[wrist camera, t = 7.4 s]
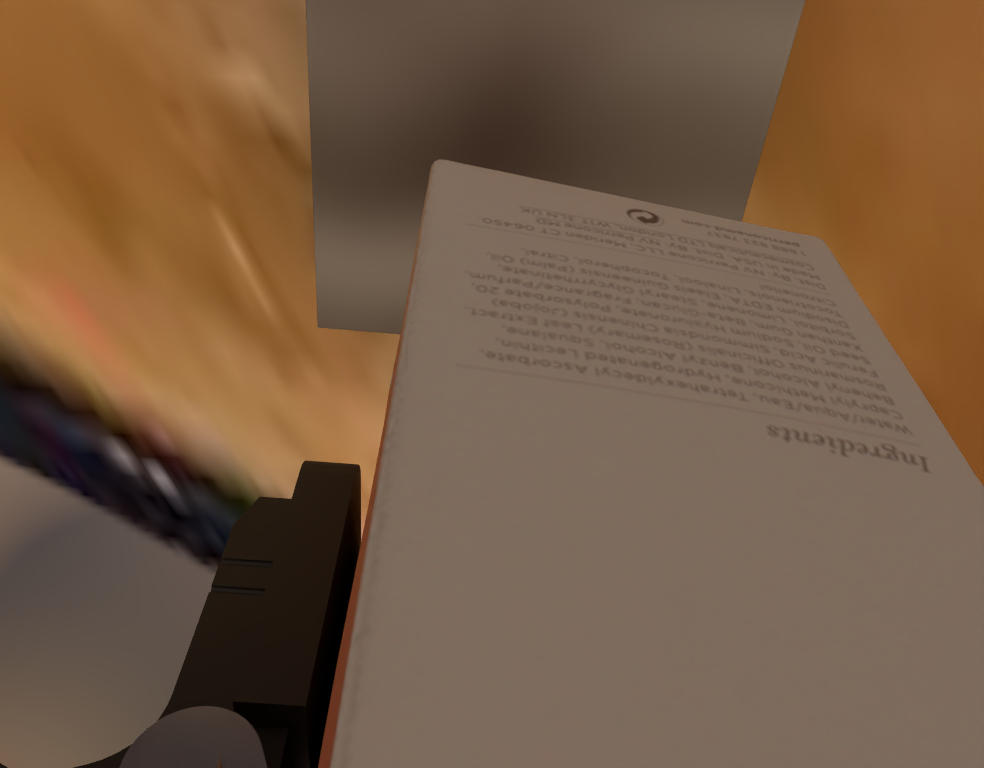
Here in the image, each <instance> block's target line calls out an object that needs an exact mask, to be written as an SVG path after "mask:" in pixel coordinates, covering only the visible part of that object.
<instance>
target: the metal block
mask: <svg viewBox="0 0 984 768" xmlns="http://www.w3.org/2000/svg"><path fill="white" fill-rule="evenodd" d="M804 3H805V0H306V20H307V47H308V74H309V101H310V128H311V155H312V182H313V209H314V236H315V263H316V290H317V317H318V327H319V328H331V329H343V330H355V331H368V332H380V333H392V334H401V329H402V324H403V319H404V313H405V308H406V302H407V296H408V290H409V285H410V279H411V273H412V268H413V262H414V256H415V250H416V245H417V239H418V234H419V229H420V224H421V219H422V214H423V208H424V202H425V197H426V192H427V188H428V182H429V175H430V170H431V166H432V164H433V163H434V161H437V160H439V159H441V160H449V161H453V162H458V163H462V164H467V165H472V166H477V167H482V168H487V169H492V170H497V171H502V172H506V173H511V174H516V175H520V176H525V177H530V178H535V179H539V180H544V181H549V182H554V183H558V184H563V185H568V186H573V187H578V188H583V189H588V190H592V191H597V192H602V193H607V194H612V195H616V196H621V197H626V198H631V199H635V200H640V201H645V202H650V203H654V204H659V205H664V206H669V207H674V208H679V209H683V210H688V211H693V212H698V213H702V214H707V215H712V216H716V217H721V218H726V219H730V220H735V221H740V222H741V221H742V218H743V214H744V211H745V207H746V204H747V200H748V197H749V193H750V190H751V186H752V183H753V179H754V176H755V173H756V169H757V166H758V162H759V159H760V155H761V152H762V148H763V145H764V141H765V138H766V134H767V131H768V128H769V124H770V121H771V117H772V114H773V110H774V107H775V103H776V100H777V96H778V93H779V89H780V86H781V83H782V79H783V76H784V72H785V69H786V65H787V62H788V58H789V55H790V51H791V48H792V44H793V41H794V38H795V34H796V31H797V27H798V24H799V20H800V17H801V13H802V10H803V6H804Z"/></svg>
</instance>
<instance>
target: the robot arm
mask: <svg viewBox="0 0 984 768" xmlns="http://www.w3.org/2000/svg"><path fill="white" fill-rule="evenodd" d="M360 546H361V472H360V466H359V465H356V464H343V463H330V462H317V461H304V462H303V464H302V466H301V469H300V473H299V476H298V479H297V483H296V486H295V490H294V493H293V496H292V499H284V498H270V497H259V498H258V499H257V500H256V501H255V502H254V503H253V505H252V506H251V507H250V508H249V509H248V510H247V511H246V512H245V513H244V514H243V515H242V516H241V517H240V518H239V519H238V520H237V521H236V522H235V523H234V524H233V527H232V530H231V533H230V536H229V538H228V541H227V544H226V547H225V549H224V552H223V555H222V560H221V564H219V566H218V569H217V572H216V574H215V577H214V580H213V583H212V589H211V592H210V593H209V594H208V597H207V600H206V603H205V605H204V608H203V611H202V614H201V616H200V619H199V622H198V624H197V627H196V630H195V633H194V636H193V638H192V641H191V644H190V647H189V649H188V652H187V655H186V658H185V661H184V663H183V666H182V669H181V672H180V674H179V677H178V680H177V683H176V686H175V688H174V691H173V694H172V696H171V699H170V701H169V703H168V705H167V707H166V709H165V710H164V712H163V713H162V715H161V717H160V718H159V719H158V720H157V722H155V723H154V724H152V725H151V726H150V727H148V728H147V729H146V730H145V731H144V732H143V733H142V734H141V735H140V736H138V738H137V739H136V740H135V741H134V742H133V743H132V744H131V745H130V746H128V747H127V748H125V749H123V750H121V751H120V752H118V753H116V754H114V755H112V756H109V757H107V758H105V759H103V760H100V761H96V762H93V763H90V764H87V765H83V766H79V767H74V768H318V765H319V760H320V754H321V749H322V743H323V738H324V732H325V727H326V721H327V716H328V710H329V705H330V699H331V694H332V689H333V683H334V678H335V672H336V667H337V661H338V656H339V651H340V646H341V641H342V636H343V631H344V626H345V621H346V616H347V611H348V606H349V601H350V596H351V591H352V586H353V581H354V576H355V571H356V566H357V561H358V556H359V551H360ZM0 768H7V767H6V766H4V765H2V764H1V763H0Z"/></svg>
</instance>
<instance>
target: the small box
mask: <svg viewBox="0 0 984 768" xmlns="http://www.w3.org/2000/svg"><path fill="white" fill-rule="evenodd" d="M318 768H984V486H983V485H982V483H981V482H980V481H979V479H978V478H977V477H976V475H975V474H974V472H973V471H972V469H971V468H970V466H969V465H968V463H967V462H966V460H965V458H964V457H963V455H962V454H961V452H960V450H959V449H958V447H957V446H956V444H955V443H954V441H953V439H952V438H951V436H950V435H949V433H948V432H947V430H946V429H945V427H944V425H943V424H942V422H941V421H940V419H939V418H938V416H937V414H936V413H935V411H934V410H933V408H932V407H931V405H930V404H929V402H928V400H927V399H926V397H925V396H924V394H923V393H922V391H921V390H920V388H919V387H918V385H917V384H916V382H915V381H914V379H913V378H912V376H911V375H910V373H909V372H908V370H907V368H906V367H905V365H904V364H903V362H902V361H901V359H900V358H899V356H898V355H897V353H896V352H895V350H894V349H893V347H892V346H891V344H890V343H889V341H888V340H887V338H886V337H885V335H884V333H883V332H882V330H881V329H880V327H879V325H878V324H877V322H876V321H875V319H874V318H873V316H872V314H871V313H870V311H869V310H868V308H867V307H866V305H865V304H864V302H863V301H862V299H861V298H860V296H859V295H858V293H857V292H856V290H855V289H854V287H853V285H852V284H851V282H850V280H849V279H848V277H847V276H846V274H845V273H844V271H843V270H842V268H841V267H840V265H839V263H838V262H837V260H836V258H835V257H834V255H833V254H832V252H831V251H830V249H829V248H828V247H827V245H826V244H825V242H824V241H823V240H822V239H820V238H818V237H815V236H810V235H804V234H799V233H793V232H787V231H783V230H778V229H774V228H769V227H765V226H760V225H755V224H750V223H745V222H740V221H735V220H730V219H726V218H721V217H716V216H712V215H707V214H702V213H698V212H693V211H688V210H683V209H679V208H674V207H669V206H664V205H659V204H654V203H650V202H645V201H640V200H635V199H631V198H626V197H621V196H616V195H612V194H607V193H602V192H597V191H592V190H588V189H583V188H578V187H573V186H568V185H563V184H558V183H554V182H549V181H544V180H539V179H535V178H530V177H525V176H520V175H516V174H511V173H506V172H502V171H497V170H492V169H487V168H482V167H477V166H472V165H467V164H462V163H458V162H453V161H449V160H441V159H439V160H437V161H434V163H433V164H432V166H431V170H430V175H429V182H428V188H427V192H426V197H425V202H424V208H423V214H422V219H421V224H420V229H419V234H418V239H417V245H416V250H415V256H414V262H413V268H412V273H411V279H410V285H409V290H408V296H407V302H406V308H405V313H404V319H403V324H402V329H401V335H400V340H399V345H398V350H397V354H396V359H395V364H394V369H393V373H392V378H391V383H390V389H389V396H388V402H387V408H386V415H385V421H384V427H383V432H382V437H381V443H380V448H379V453H378V459H377V464H376V469H375V475H374V480H373V485H372V490H371V496H370V501H369V506H368V511H367V516H366V521H365V526H364V531H363V536H362V541H361V546H360V551H359V556H358V561H357V566H356V571H355V576H354V581H353V586H352V591H351V596H350V601H349V606H348V611H347V616H346V621H345V626H344V631H343V636H342V641H341V646H340V651H339V656H338V661H337V667H336V672H335V678H334V683H333V689H332V694H331V699H330V705H329V710H328V716H327V721H326V727H325V732H324V738H323V743H322V749H321V754H320V760H319V765H318Z"/></svg>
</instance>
